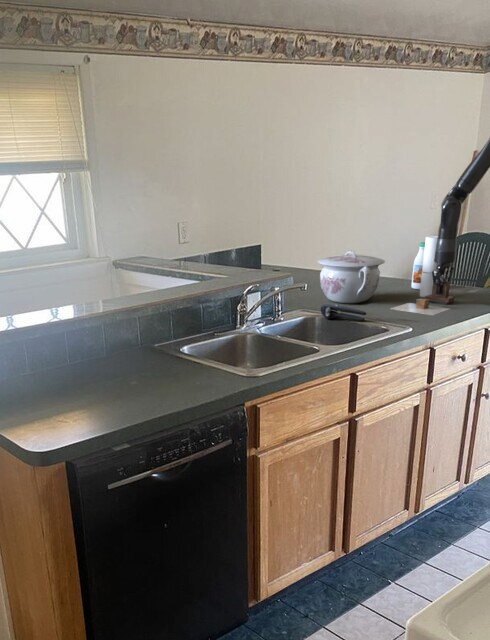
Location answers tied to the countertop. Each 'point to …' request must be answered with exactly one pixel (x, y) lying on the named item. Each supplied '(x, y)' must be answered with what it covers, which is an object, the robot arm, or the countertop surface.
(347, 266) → the chamber pot
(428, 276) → the cylindrical container
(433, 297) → the brown branching block
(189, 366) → the countertop surface
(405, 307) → the tile
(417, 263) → the milk bottle
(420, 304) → the cork block
